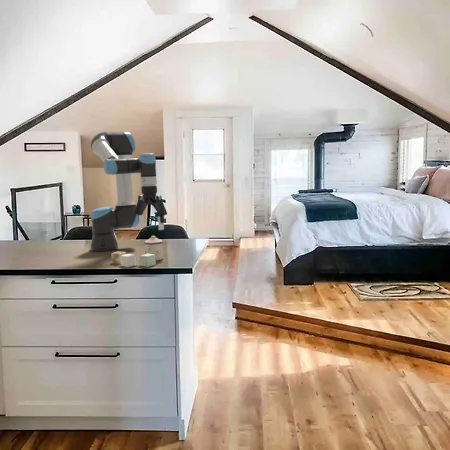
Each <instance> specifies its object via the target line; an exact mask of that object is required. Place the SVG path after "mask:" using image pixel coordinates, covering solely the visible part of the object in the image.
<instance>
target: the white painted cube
mask: <svg viewBox="0 0 450 450" xmlns="http://www.w3.org/2000/svg"><path fill="white" fill-rule="evenodd" d="M120 265H121V267H126V268H130V267H134V266H136V265H137V260H136V254H132V253H126V254H125V255H121V264H120Z"/></svg>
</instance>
